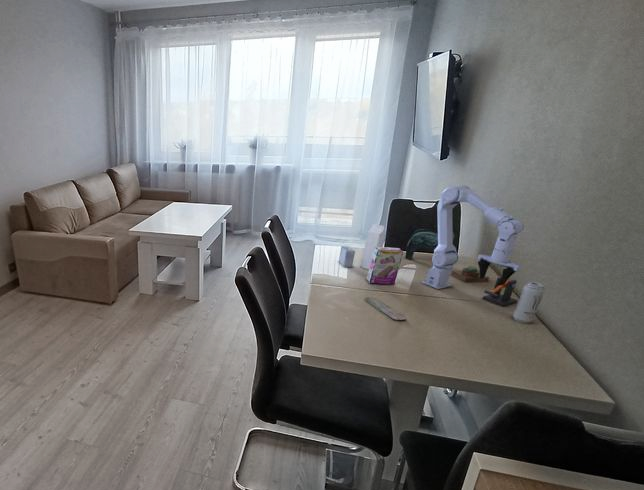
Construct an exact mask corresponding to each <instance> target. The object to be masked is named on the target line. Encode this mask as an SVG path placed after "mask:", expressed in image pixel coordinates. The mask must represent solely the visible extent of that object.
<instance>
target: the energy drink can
mask: <svg viewBox="0 0 644 490" xmlns="http://www.w3.org/2000/svg"><path fill="white" fill-rule="evenodd" d="M545 293H546V289H545V284H543V283H540V282H537V281H528V282H527V283H526V284H525V285H524V286H523V289H522V292H521V294H520V297H519V299H518V300H517V304H516V307H515V309H514V311H513V314H512V317H513V320H515V321H517V322H519V323H522V324H530V323H531V322H533V321H534V319H535V316H536V314H537V311H538V309H539V307H540V304H541V302H542V300H543V297H544V295H545Z"/></svg>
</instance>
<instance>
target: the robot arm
mask: <svg viewBox="0 0 644 490" xmlns="http://www.w3.org/2000/svg"><path fill="white" fill-rule="evenodd" d="M440 196H441V197H440V198H439V201H438V203H437V206H436V207H437V209H436V210H437V225H438V226H437V233H438V246H437V248H436V249H435V250H434V252H433V255H432V258H431V262H432V264H433V266H432V267H431V268H429V269H428V270H427V271H426V275H425V278H424V280H423V281H422V282H421V283H422V284H424V285H426V286H429V287H431V288H434V289H437V290H440V289H445V288H449V287H452V284H449V280H450V277H451V273H452V271H453V268H454V265H455V264H457V263H458V261H459V254H458V252H457V248H456V246H455V245H454V243H453V242H454V241H453V231H454V230H453V229H454V228H453V209H454V208H455V207H456V206H457V205H459V204H461V203H467V204H468V203H469V204H470V205H471V206H473V207H474V208H476V209H477V210H478V211H480V212H481V213H482V214H484V217H483V218H484V219H486V220H487V221H488V222H489V223H490V224H492V225H493V226H495V228H496V229H497V231H498V236H497V239H496V242H495V245H494V248H493V251H492V254H491V255H486V254H482V253H481V254H479V255H478V256H477V260H479V261H477V265H478V268H479V269H478V270H479V271H480V278H481V279H482V278H484V277H485V275H486V276H487V271H488V269H489V267H490V266H491V264H494V265H496V266H499V267H502V268H503V269H502V275H501V277H502V278H501V281H500V284H499V285H504V284H505V282H506V281H507V280H508V279H510V277H512V276H513V275H514V274H515V273H516V272H519V271H520V269H521V265H519V264H516V263H514V262H511V261H509V260H510V257H511V255H512V252H513V249H514V246H515V245H516V241H517V238H518V236H519V234H520V233H521V232H522V231H523V230H524V228H525V223H523V221H522V220H521V219H519V218H514V216H513V215H509V214H508V213H507V212H505V211H504V208H503V207H502V206H501V207H500V206H492V205H490V203H488V202H487V201H486V200H484V199H483V198H482V197H481V196H480V195H478V193H476V191H475V190H474V189H473V188H470V187H469V186H468V185H455V186H447V187H446V188H445V189H444V190H443V191H442V192H441V193H440Z"/></svg>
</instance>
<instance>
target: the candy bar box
mask: <svg viewBox="0 0 644 490" xmlns="http://www.w3.org/2000/svg"><path fill="white" fill-rule="evenodd" d="M403 255H404V250H402V249H401V248H399V247H389V246H388V247H387V246H386V247H385V246H383V247H374V251H373V255H372V259H371V263H370V267H369V270H368V272H367V276H366V281H367V282H368V284H372V285H373V284H374V285H388V286H389V285H390V286H395V284H396V280H397V277H398V273H399V269H400V266H401V261H402V258H403Z"/></svg>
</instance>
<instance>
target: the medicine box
mask: <svg viewBox="0 0 644 490" xmlns="http://www.w3.org/2000/svg"><path fill="white" fill-rule="evenodd" d="M355 255H356V250H355V249H353V248H352V247H351V246H349V245H342V246H341V247H340V251H339V257H338V263H339V264H340V265H341V266H342V267H343V268H353V266H354V259H355Z"/></svg>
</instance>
